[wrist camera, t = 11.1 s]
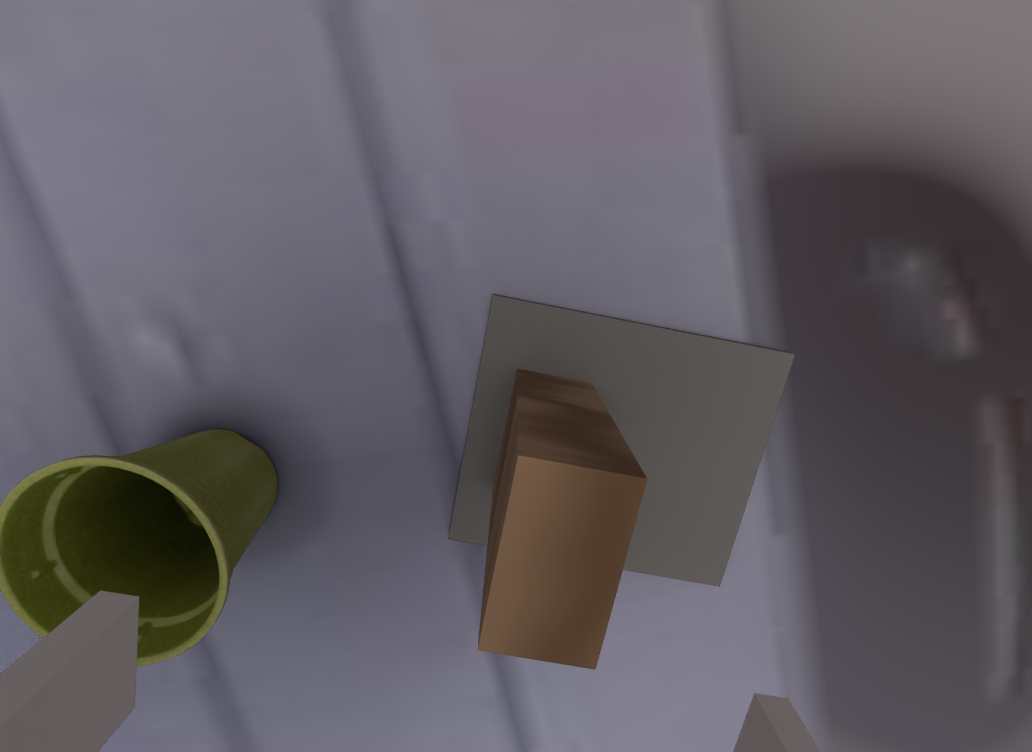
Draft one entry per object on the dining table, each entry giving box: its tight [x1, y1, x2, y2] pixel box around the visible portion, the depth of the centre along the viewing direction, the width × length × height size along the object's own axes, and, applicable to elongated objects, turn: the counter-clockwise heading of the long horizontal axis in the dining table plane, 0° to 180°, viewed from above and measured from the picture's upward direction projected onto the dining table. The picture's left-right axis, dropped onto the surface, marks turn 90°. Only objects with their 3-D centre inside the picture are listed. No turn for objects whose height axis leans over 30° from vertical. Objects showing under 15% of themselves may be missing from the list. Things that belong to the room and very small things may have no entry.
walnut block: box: [478, 369, 647, 669], centre depth 22 cm, size 4×7×12 cm, turn 169°
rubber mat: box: [448, 294, 794, 587], centre depth 29 cm, size 16×14×1 cm
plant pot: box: [0, 429, 278, 666], centre depth 25 cm, size 9×9×9 cm
